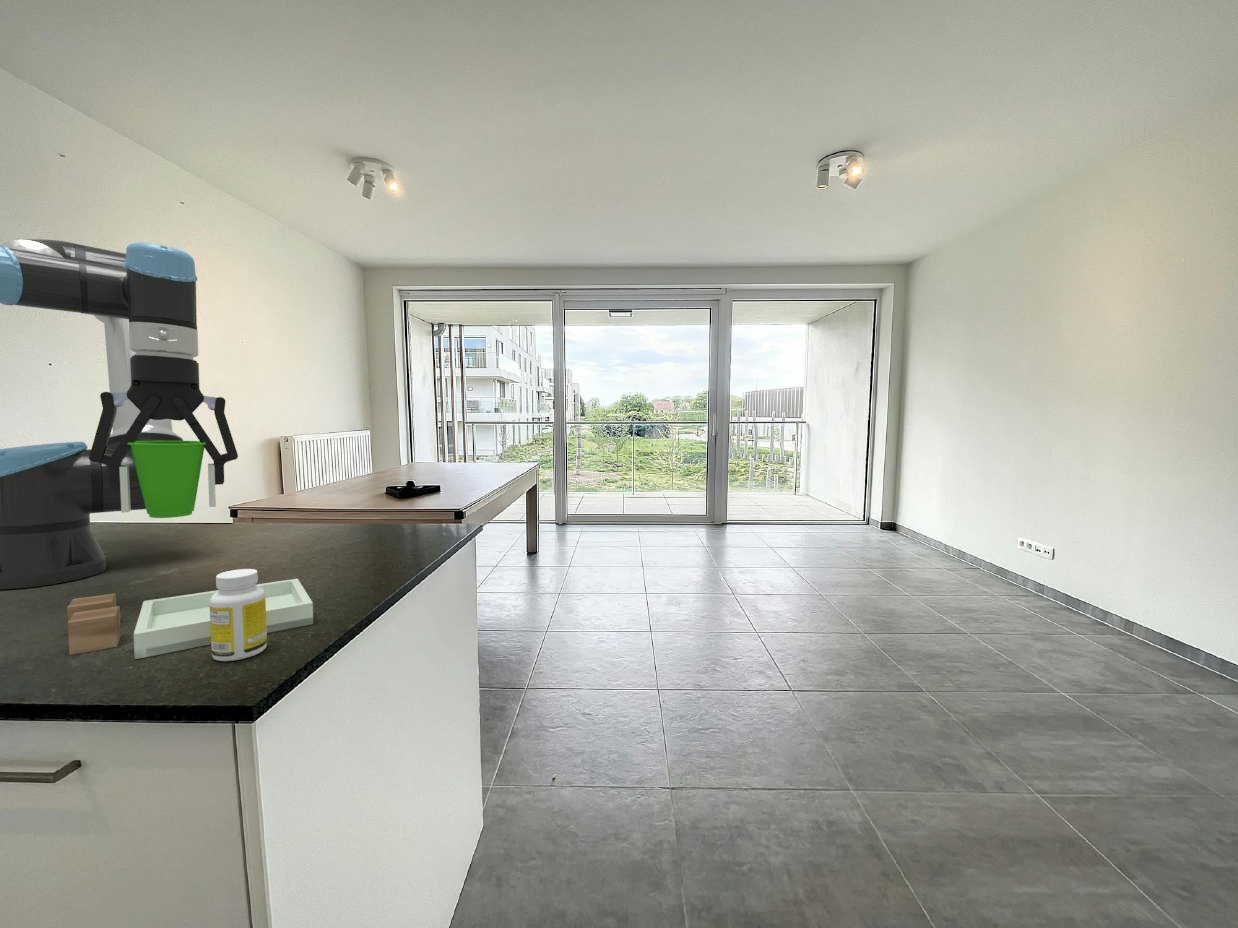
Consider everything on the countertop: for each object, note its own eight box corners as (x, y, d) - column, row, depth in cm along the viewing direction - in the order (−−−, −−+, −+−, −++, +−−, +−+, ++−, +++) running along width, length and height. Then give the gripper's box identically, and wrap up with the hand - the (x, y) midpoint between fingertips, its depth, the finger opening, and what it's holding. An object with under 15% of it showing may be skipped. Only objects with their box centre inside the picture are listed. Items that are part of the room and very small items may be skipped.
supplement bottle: (268, 639, 65) (266, 564, 64) (266, 656, 61) (263, 575, 60) (214, 648, 62) (211, 570, 62) (208, 666, 58) (205, 582, 57)
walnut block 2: (76, 644, 63) (74, 612, 63) (121, 636, 65) (119, 606, 65) (69, 655, 60) (67, 622, 60) (116, 647, 62) (115, 615, 62)
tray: (144, 622, 70) (143, 601, 70) (298, 596, 81) (297, 578, 81) (134, 659, 59) (133, 634, 59) (313, 623, 70) (312, 602, 70)
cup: (163, 522, 71) (160, 444, 70) (112, 518, 73) (109, 441, 72) (224, 512, 80) (222, 442, 79) (178, 508, 82) (175, 439, 81)
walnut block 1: (74, 628, 68) (73, 599, 67) (116, 621, 70) (115, 593, 70) (68, 638, 65) (67, 607, 64) (113, 630, 67) (111, 601, 67)
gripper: (49, 345, 65) (59, 519, 66) (258, 362, 78) (261, 506, 80) (61, 350, 70) (70, 510, 72) (254, 365, 84) (257, 499, 86)
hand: (171, 508), depth 76 cm, fingers closed on cup, 9 cm apart
